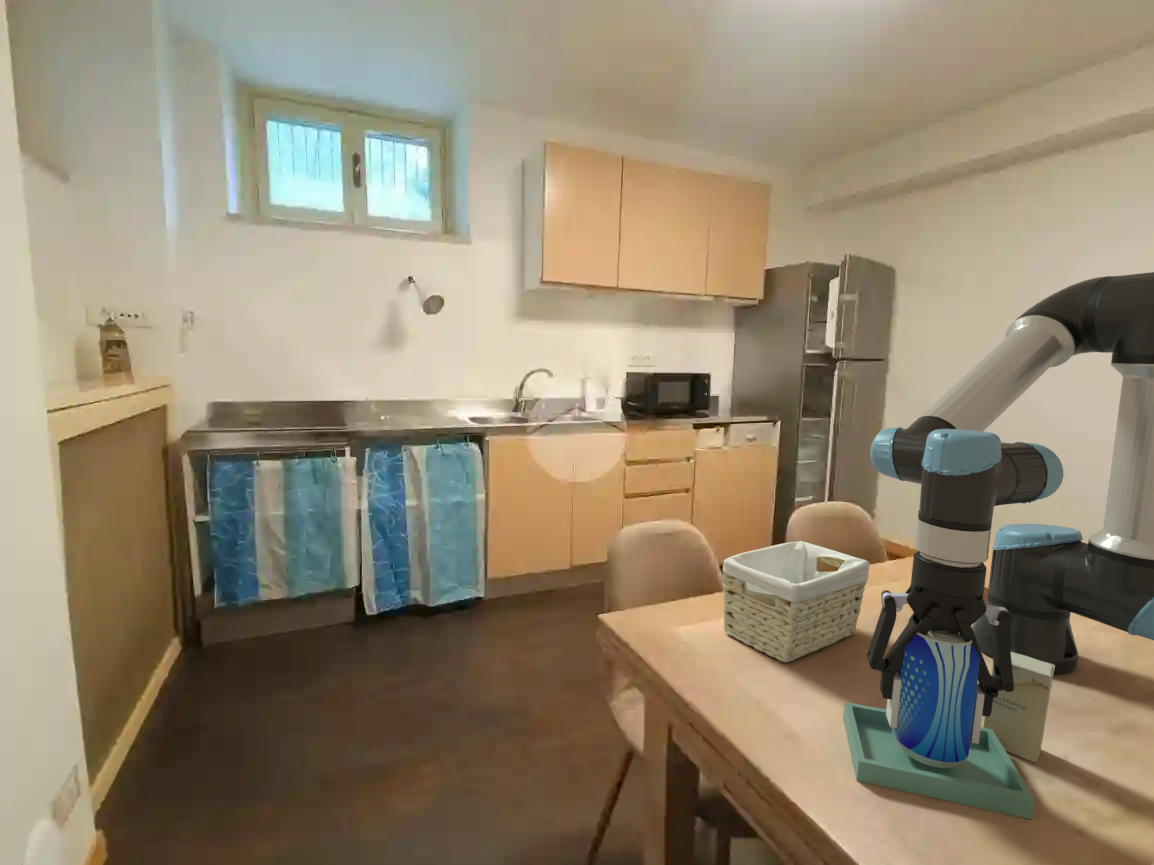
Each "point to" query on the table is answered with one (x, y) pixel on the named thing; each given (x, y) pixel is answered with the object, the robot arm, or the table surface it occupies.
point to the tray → (971, 782)
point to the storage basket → (792, 598)
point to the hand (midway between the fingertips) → (930, 728)
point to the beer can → (937, 698)
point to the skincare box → (1022, 707)
